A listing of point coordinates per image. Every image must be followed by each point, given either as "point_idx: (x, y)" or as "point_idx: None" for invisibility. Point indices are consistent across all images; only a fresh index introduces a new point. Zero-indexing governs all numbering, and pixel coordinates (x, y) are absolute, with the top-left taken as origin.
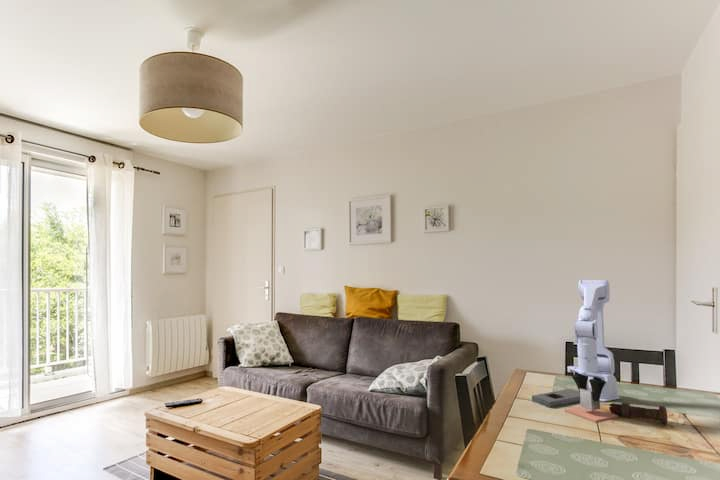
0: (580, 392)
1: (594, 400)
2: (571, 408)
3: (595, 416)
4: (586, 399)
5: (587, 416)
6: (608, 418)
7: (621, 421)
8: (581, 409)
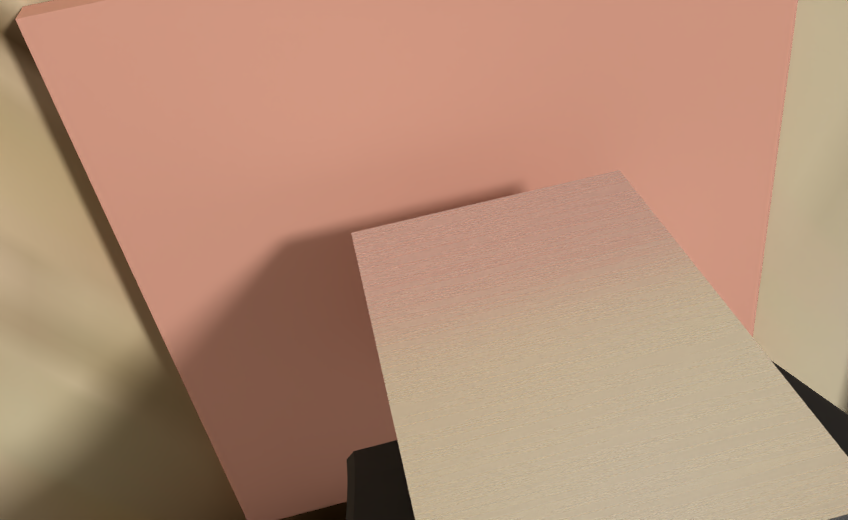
0: (785, 409)
1: (370, 459)
2: (783, 67)
3: (266, 200)
4: (532, 347)
5: (302, 46)
6: (178, 356)
7: (54, 453)
8: (654, 207)
